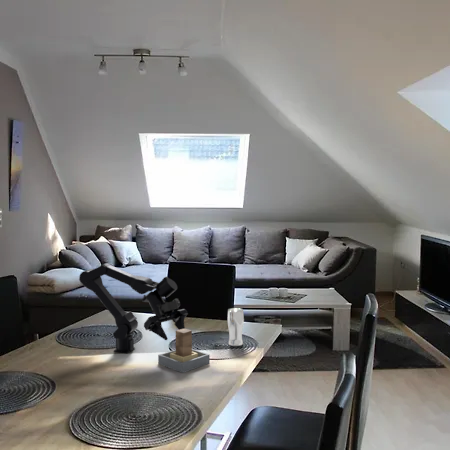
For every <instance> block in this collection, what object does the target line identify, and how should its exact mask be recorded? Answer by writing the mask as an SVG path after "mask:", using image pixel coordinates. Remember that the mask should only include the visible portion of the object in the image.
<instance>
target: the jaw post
mask: <svg viewBox="0 0 450 450" xmlns="http://www.w3.org/2000/svg"><path fill="white" fill-rule="evenodd" d="M192 349H193V331H192V330H191V329H189V328H185V329H180V330H179V329H178V330H175V350H176V355H179V356H182V357H185V356H188V355H191V354H192Z"/></svg>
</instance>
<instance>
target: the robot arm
mask: <svg viewBox="0 0 450 450" xmlns="http://www.w3.org/2000/svg"><path fill="white" fill-rule="evenodd" d="M104 275H105V276H108V277H110V278H111V279H114V280H116V281H119V282H121V283H123V284H126V285H128V286H129V287H131V289H132V290H133V291H134V292H137V293H138V294H139V295H143V297H142V299H141V301H142V303H149V306H150V308H151V310H152V311H151V314H154V315H153V316H152V315H150V316H148V318H147V319H146V320H145V321H144V323H143V328H144V329H145V331H149V332H152V333H154V334H155V335H157V336H158V337H160V338H161V339H163V340H164V341H168V336H167V334H166V332H165V329H164V328H163V326H162V324H163V323H166V322H169V321H172V322H174V326H175V327H176V328H177V329H178V330H180V329H186V327H185V319H186V317H187V315H189V313H188V311H187V309H185V308H182V309H179V307H180V306H181V302H180V300H179V298H174V299H173V300H172V301H169V302H168V301H165V300H164V298H168V297H170V296H171V295H172V294H173V293H174V292H176V291H177V290H178V285H177V283H176V282H175V281H174V280H173V279H171V278H169V277H168V276H165V277H163V278H162V280H160V281H159V282H157V281H155V280H153V279H152V278H150V277H148V276H147V277H146V276H144V275H143V276H142V275H135V274H133V273H130V272H127V271H125V270H123V269H120V268H118V267H115V266H113V265H112V264H110V263H104V264H101V265H100V266H98V267H96V268H89V269H87V270H84V271H81V272H80V274H79V276H78V277H79V279H78V280H79V282H80V283H81V284H82V285H83V287H85V288H86V289H87V290H90V291H91V292H93V294H95V296H96V297H97V298H98V299H99V301H100V302H101V303H102V304H103V306H104V307H105V308H106V309H107V310H108V312H109V313H110V314H111V315H112V317H113V318H114V322H115V326H116V328H117V329H116V330H115V331H114V332H113V333H112V335H113V338H114V339H115V349H113V352H115V353H116V352H117V353H122V354H123V353H124V354H128V353H130V352H132V351H134V350H135V349H136V347H135V345H134V344H135V343H134V339H133V335H132V334H134V333H135V330H137V328H138V326H139V325H138V324H139V322H138V320H137V319H138V318H137V317H136V316H135V315H134V313H133V312H132V311H128V312H127V311H125V310H124V309H123V308H122V307H121V305H120V304H119V302H117V300H116V299H115V298H114V297H113V295H112V294H111V293H110V291H109V290H108V289H107V287H105V285H104V283H103V280H102V279H103V278H102V277H103V276H104ZM146 293H147V294H146ZM174 310H176V311H174ZM174 312H175V313H174Z"/></svg>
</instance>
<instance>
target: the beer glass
mask: <svg viewBox="0 0 450 450" xmlns="http://www.w3.org/2000/svg"><path fill="white" fill-rule="evenodd" d="M244 322H245V318H244V309H243V308H241V307H240V308H239V307H232V308H228V309H227V326H228V328H227V329H228V333H229V337H228V345H229V346H232V347H240V346H242V345H243V344H244V343H243V331H244V325H245V324H244Z"/></svg>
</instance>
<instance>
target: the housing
mask: <svg viewBox="0 0 450 450" xmlns="http://www.w3.org/2000/svg"><path fill="white" fill-rule="evenodd" d="M157 359H158V363H157V364H159V365H160V366H164V367H165V368H169V369H171V370H173V371H177V372H180V373H181V374H182V373H186V372H188V371H191V370H194V369H197V368H200V367H203V366H206V365H208V364H210V362H211V361H210V360H211V359H210V354H209V353H207V352H204V351H201V350H196V349H194V348H192V354H191V355H188V356H185V357H182V356H179V355H176V349H173V350H170V351H167V352H162V353H160V354H158V358H157Z"/></svg>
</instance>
